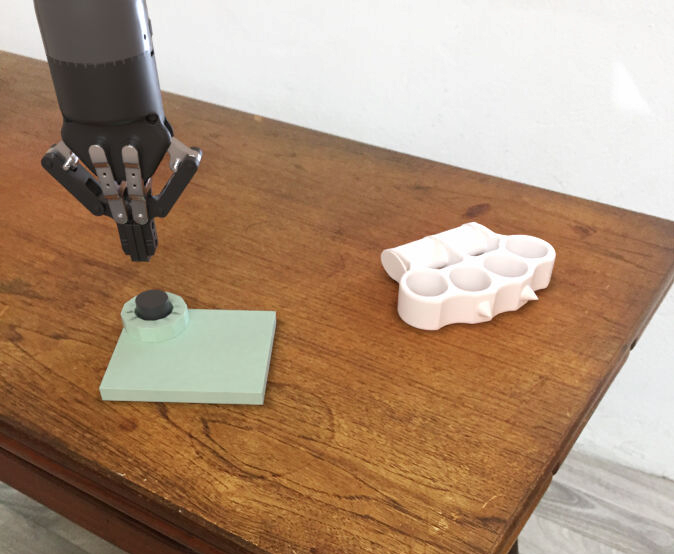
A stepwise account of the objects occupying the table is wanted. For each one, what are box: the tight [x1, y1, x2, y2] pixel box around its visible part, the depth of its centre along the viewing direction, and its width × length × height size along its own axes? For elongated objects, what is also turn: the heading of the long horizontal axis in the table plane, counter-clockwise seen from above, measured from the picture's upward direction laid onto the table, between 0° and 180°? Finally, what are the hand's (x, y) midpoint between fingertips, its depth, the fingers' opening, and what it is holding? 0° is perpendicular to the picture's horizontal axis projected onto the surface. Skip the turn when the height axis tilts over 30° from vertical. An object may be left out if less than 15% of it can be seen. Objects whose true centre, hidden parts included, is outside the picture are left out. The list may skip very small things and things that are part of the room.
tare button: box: [135, 289, 171, 321], centre depth 69 cm, size 3×3×2 cm
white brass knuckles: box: [380, 221, 556, 331], centre depth 76 cm, size 3×18×15 cm
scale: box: [98, 291, 277, 406], centre depth 68 cm, size 14×12×3 cm
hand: (143, 257), depth 65 cm, fingers closed
